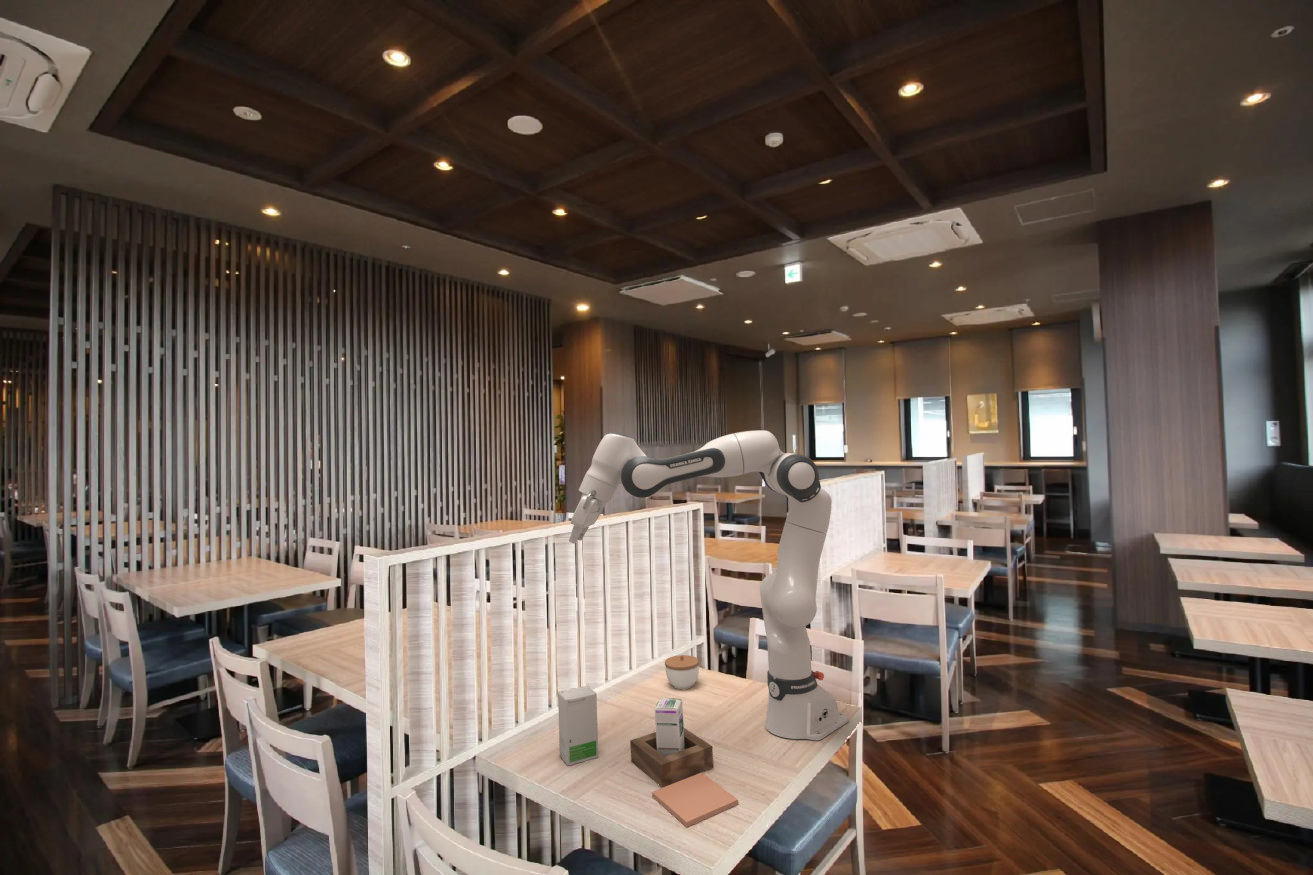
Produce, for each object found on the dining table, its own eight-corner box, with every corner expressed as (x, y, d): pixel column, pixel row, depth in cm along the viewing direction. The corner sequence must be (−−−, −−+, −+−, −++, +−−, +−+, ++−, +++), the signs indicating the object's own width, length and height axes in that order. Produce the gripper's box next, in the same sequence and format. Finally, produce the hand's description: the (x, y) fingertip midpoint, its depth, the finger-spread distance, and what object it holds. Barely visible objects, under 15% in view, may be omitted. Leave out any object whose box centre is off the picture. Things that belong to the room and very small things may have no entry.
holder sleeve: (679, 744, 151) (678, 724, 151) (713, 767, 139) (712, 745, 139) (631, 761, 144) (630, 740, 144) (662, 787, 132) (661, 764, 132)
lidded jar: (663, 691, 185) (662, 661, 185) (668, 678, 195) (667, 649, 196) (698, 692, 183) (696, 661, 183) (701, 679, 194) (700, 649, 194)
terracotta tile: (701, 776, 136) (701, 772, 136) (738, 804, 125) (738, 799, 125) (652, 796, 129) (652, 791, 129) (686, 827, 118) (686, 821, 118)
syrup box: (682, 771, 138) (679, 708, 139) (656, 770, 139) (654, 707, 140) (685, 759, 144) (683, 697, 144) (661, 757, 145) (658, 697, 145)
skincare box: (567, 766, 143) (564, 700, 143) (558, 754, 149) (555, 691, 149) (600, 757, 147) (597, 692, 147) (590, 745, 152) (587, 683, 153)
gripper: (603, 496, 144) (579, 549, 143) (612, 495, 165) (592, 542, 164) (579, 485, 145) (555, 539, 144) (591, 486, 165) (571, 533, 164)
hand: (575, 541), depth 154 cm, fingers open, 8 cm apart
